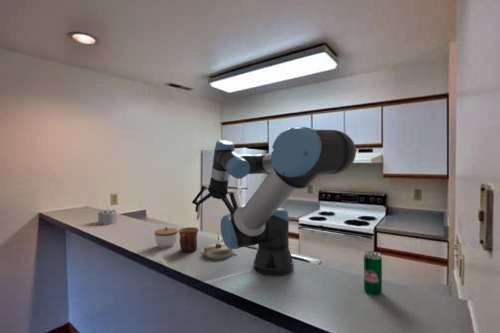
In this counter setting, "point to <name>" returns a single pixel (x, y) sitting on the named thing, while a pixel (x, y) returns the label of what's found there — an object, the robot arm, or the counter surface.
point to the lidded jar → (166, 237)
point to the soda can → (373, 273)
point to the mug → (188, 239)
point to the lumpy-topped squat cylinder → (107, 217)
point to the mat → (218, 259)
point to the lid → (217, 251)
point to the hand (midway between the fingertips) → (213, 222)
